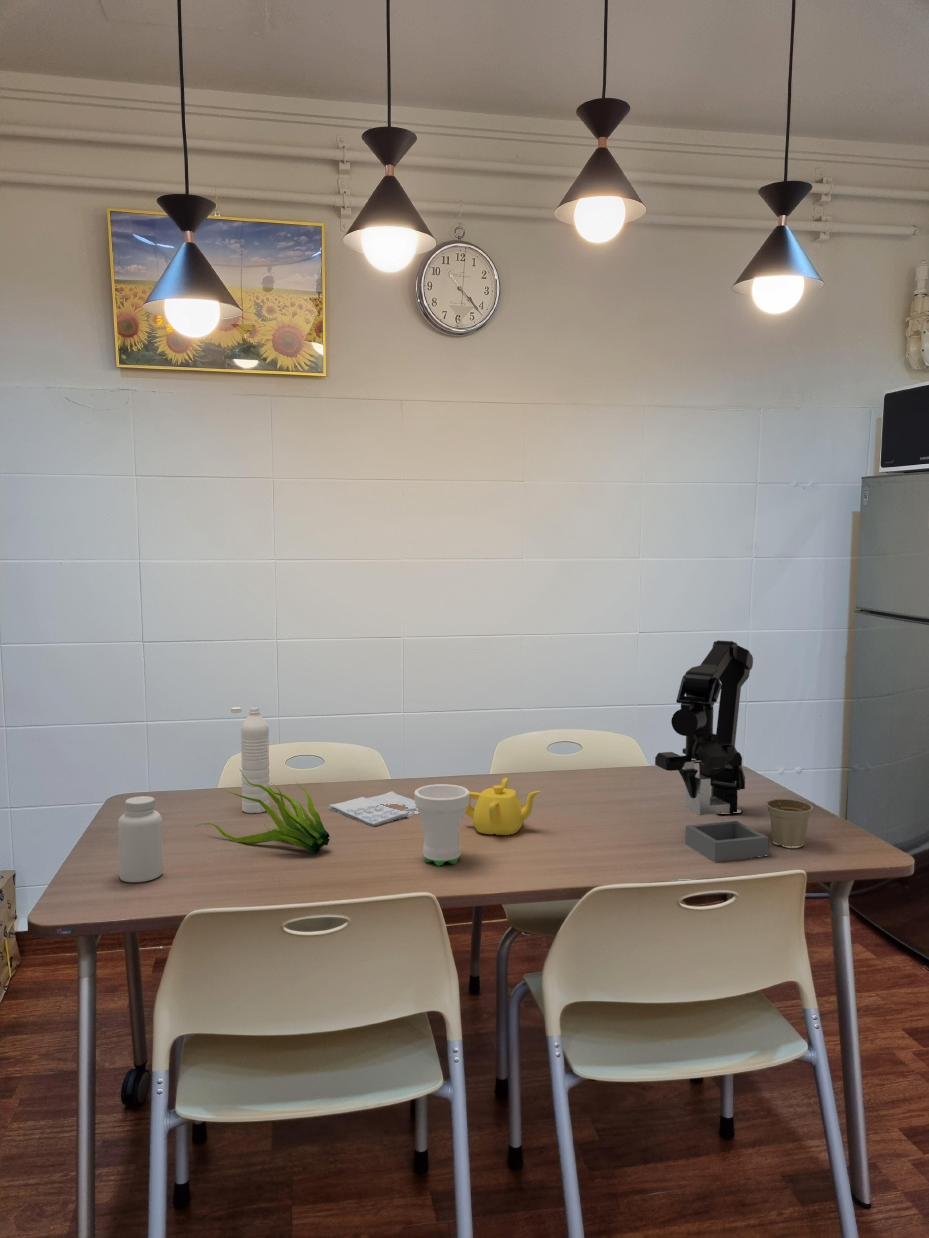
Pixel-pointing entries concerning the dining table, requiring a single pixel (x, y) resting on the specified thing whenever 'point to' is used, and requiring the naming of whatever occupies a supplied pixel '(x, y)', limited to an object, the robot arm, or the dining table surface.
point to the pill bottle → (140, 841)
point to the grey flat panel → (376, 808)
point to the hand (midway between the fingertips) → (697, 797)
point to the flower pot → (789, 821)
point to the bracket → (705, 799)
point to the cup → (442, 820)
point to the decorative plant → (288, 824)
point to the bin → (726, 841)
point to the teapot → (499, 810)
